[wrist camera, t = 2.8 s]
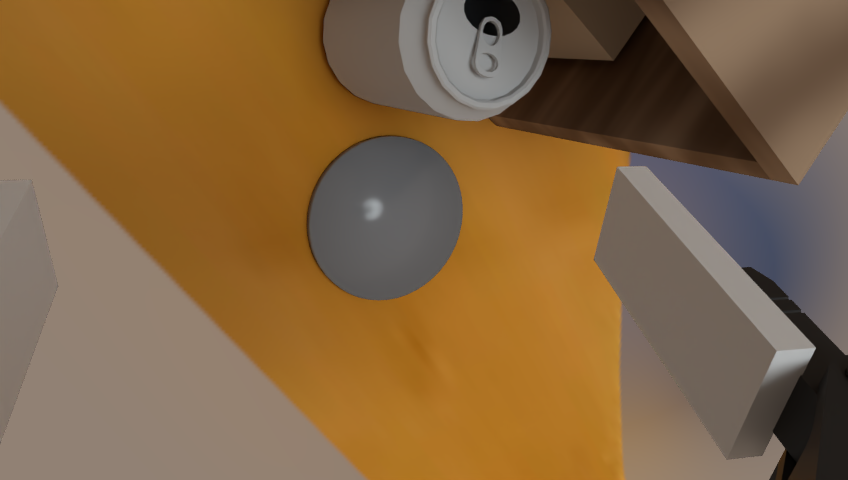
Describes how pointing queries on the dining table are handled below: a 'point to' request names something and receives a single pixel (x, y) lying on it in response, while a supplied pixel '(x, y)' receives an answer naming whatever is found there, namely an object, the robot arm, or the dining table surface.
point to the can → (438, 53)
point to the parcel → (591, 27)
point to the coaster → (384, 217)
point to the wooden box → (706, 87)
